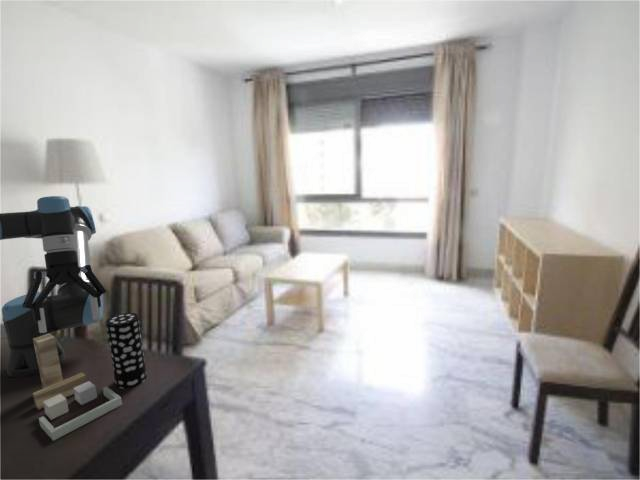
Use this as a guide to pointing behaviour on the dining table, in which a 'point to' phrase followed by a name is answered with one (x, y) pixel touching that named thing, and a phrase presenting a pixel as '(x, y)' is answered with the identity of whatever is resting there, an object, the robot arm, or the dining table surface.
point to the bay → (82, 416)
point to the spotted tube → (126, 350)
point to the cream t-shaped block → (52, 372)
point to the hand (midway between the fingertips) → (71, 325)
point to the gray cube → (85, 392)
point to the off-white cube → (55, 406)
